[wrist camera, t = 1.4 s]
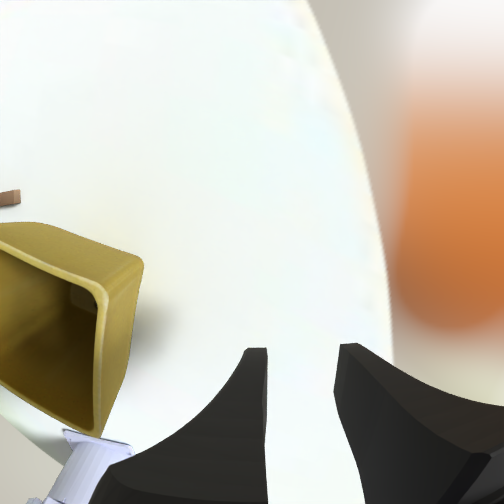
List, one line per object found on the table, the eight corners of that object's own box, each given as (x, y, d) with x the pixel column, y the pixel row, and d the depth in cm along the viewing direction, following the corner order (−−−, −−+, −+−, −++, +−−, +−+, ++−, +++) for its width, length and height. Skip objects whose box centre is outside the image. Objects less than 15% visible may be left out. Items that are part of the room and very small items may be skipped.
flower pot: (50, 314, 20) (-23, 369, 11) (60, 204, 18) (-36, 223, 9) (149, 356, 20) (100, 443, 11) (173, 240, 18) (109, 288, 10)
